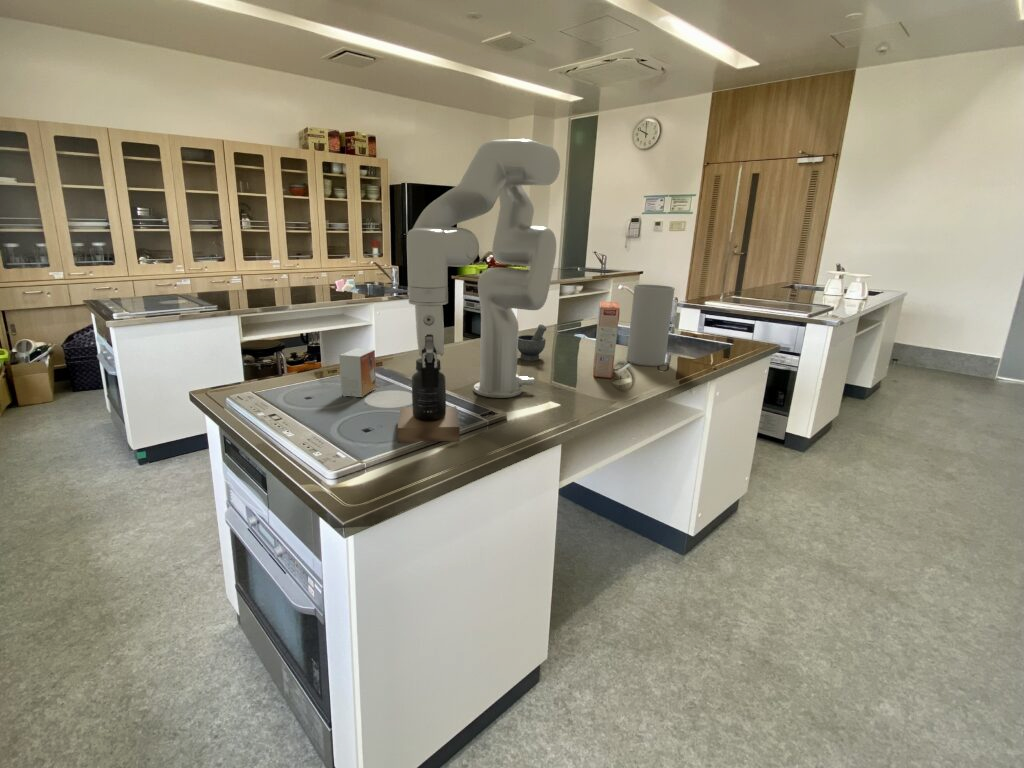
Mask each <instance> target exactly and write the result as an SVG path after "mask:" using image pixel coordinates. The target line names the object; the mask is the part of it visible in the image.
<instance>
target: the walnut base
mask: <svg viewBox="0 0 1024 768" xmlns="http://www.w3.org/2000/svg"><path fill="white" fill-rule="evenodd" d="M399 408H400V409H399V415H398V421H397V423H398V424H397V443H420V442H419V441H429V442H428V443H430V442H458V441H459V442H460V438H461V437H460V436H461V435H460V431H461V429H460V426H461V425H460V422H459V414H458V410H457V406H446V415H445V417H444V418H442V419H440V420H437V421H420V420H417V419H415V418H414V416H413V407H412V406H410V407H407V406H405V407H404V406H401V407H399Z"/></svg>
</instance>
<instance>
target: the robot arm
mask: <svg viewBox="0 0 1024 768" xmlns="http://www.w3.org/2000/svg"><path fill="white" fill-rule="evenodd" d="M560 170H561V160H560V156H559V153H558V152H557V150H556V149H555V148H554V147H553V146H551V145H548V144H544V143H541V142H539V141H535V140H531V139H525V138H517V139H515V138H514V139H493V140H488V141H485V142H484V143H482V145H480V147H479V148H478V150H477V151H476V153H475V155H474V156H473V158H472V159H471V161H470V163H469V165H468V167H467V169H466V171H465V173H464V174H463V175H462V178H461V180H460V182H459V183H458V184H457V185H456V186H454V187H452V188H451V189H449V190H447V191H446V192H444V193H443V194H442V195H440V196H439V197H437V198H436V199H434V200H433V201H432V202H430V203H429V204H428V205H427V206H426V207H425V208H424V209H423V210H422V212H421V213H420V215H419V216H418V217H417V219H416V221H415V223H414V225H413V227H412V229H409V230H408V232H407V234H406V257H407V258H406V260H407V287H408V288H407V289H408V293H407V294H408V303H409V304H410V305H414V309H415V310H414V311H415V314H414V315H415V327H416V328H415V329H416V331H415V332H416V340H417V341H416V342H417V348H418V350H417V351H418V355H419V356H421V358H422V359H423V367H421V372H422V387H423V388H437V387H438V386H439V380H438V367H437V359H438V355H440V357H443V356H444V355H445V336H444V335H445V329H444V327H445V325H444V307H443V305H447V304H449V291H448V290H449V287H448V284H449V282H448V278H449V277H448V276H449V275H448V271H449V270H448V268H449V267H459V268H460V267H461V268H463V267H467V266H469V265H471V264H472V263H474V261H475V260H476V259H477V258H478V256H479V253H480V243H479V240H478V238H477V236H476V234H474V233H473V232H472V231H471V230H470V229H468V228H465V227H464V228H463V227H454V226H455V225H458V224H459V223H463V222H466V221H469V220H473V219H476V218H478V217H480V216H484V215H485V214H488V213H489V212H490V211H491V210H492V209H493V208H494V205H496V202H497V200H498V199H499V211H498V217H497V223H496V227H495V231H494V236H493V241H492V242H493V244H492V250H491V251H492V252H491V253H492V257H493V259H494V260H495V261H496V262H497V263H501V264H503V265H512V266H526V267H530V268H529V269H521V268H514V267H513V268H512V267H496V266H495V267H489V268H487V269H485V270H484V271H483V272H481V273H480V276H479V277H478V280H477V292H478V299H479V305H480V350H479V351H480V356H479V357H480V360H479V362H480V363H479V364H480V365H479V382H477V383H475V384H474V385H473V392H474V393H475V394H477V395H479V396H482V397H485V398H491V399H492V398H494V399H505V398H513V397H516V396H519V395H521V393H522V391H523V388H522V387H523V386H535V378H534V377H528V376H520V375H519V374H518V373H517V370H518V369H517V368H518V351H519V350H518V336H519V322H518V318H517V317H516V315H515V313H514V311H513V309H515V310H525V311H539V310H540V309H542V308H543V307H544V305H545V304H546V302H547V299H548V296H549V292H550V286H551V280H552V277H553V276H552V275H553V271H554V266H555V262H556V256H557V239H556V235H555V233H554V232H553V230H552V229H551V228H549V227H546V226H541V225H532V224H533V218H534V213H535V212H534V211H535V209H534V208H535V207H534V205H533V203H532V200H531V199H530V197H529V196H528V194H527V192H526V191H525V189H524V188H523V186H550V185H552V184H554V183H555V181H556V180H557V179H558V177H559V174H560ZM425 364H426V365H425ZM425 366H426V367H425Z"/></svg>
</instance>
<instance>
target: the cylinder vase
mask: <svg viewBox="0 0 1024 768" xmlns="http://www.w3.org/2000/svg"><path fill="white" fill-rule="evenodd" d="M674 296H675V287H674V286H668V285H661V284H659V285H658V284H635V285H634V286H633V296H632V305H631V315H630V324H629V335H628V341H627V342H628V343H627V352H626V360H627V362H628V363H630V364H633V365H635V366H642V367H659V366H663V365H665V364H666V358H667V350H668V343H669V342H668V341H669V334H670V327H671V320H672V312H673V311H672V310H673V304H674V298H675V297H674Z"/></svg>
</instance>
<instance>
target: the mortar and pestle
mask: <svg viewBox="0 0 1024 768" xmlns="http://www.w3.org/2000/svg"><path fill="white" fill-rule="evenodd" d="M546 331H547V327H546V325H544V324H538V327H537V330H536V331H535V333H534V335H533V334H524V335H522V334H519V335H518V351H519V352H520V353H521V354H520V359H521V360H523V361H529V362H531V361H538V360H540V354H541V353H542V352H543V351H544V349H545V347H546V338H545V337H544V334H545V332H546Z"/></svg>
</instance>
